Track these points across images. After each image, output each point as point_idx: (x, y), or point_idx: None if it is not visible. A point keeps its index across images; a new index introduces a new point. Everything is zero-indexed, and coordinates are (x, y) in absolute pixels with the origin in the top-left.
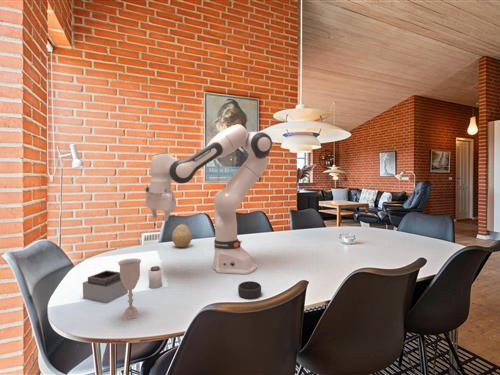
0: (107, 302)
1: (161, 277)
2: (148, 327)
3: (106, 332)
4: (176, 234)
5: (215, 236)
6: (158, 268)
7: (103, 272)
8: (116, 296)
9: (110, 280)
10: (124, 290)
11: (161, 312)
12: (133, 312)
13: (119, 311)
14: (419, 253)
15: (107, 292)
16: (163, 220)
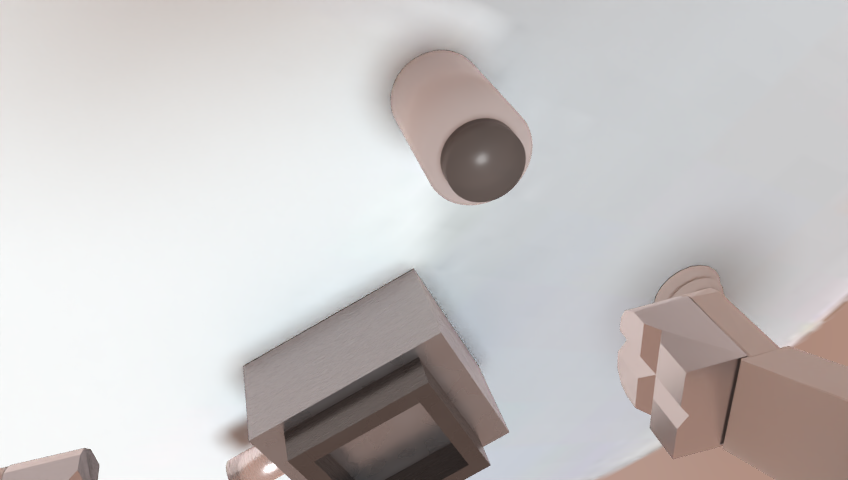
0: (477, 365)
1: (488, 82)
2: (829, 257)
3: None
4: None
5: None
6: (522, 145)
7: (327, 473)
8: (455, 334)
9: (466, 428)
10: (433, 302)
11: (780, 182)
12: None
13: (611, 328)
14: None
15: (495, 403)
16: (625, 376)
